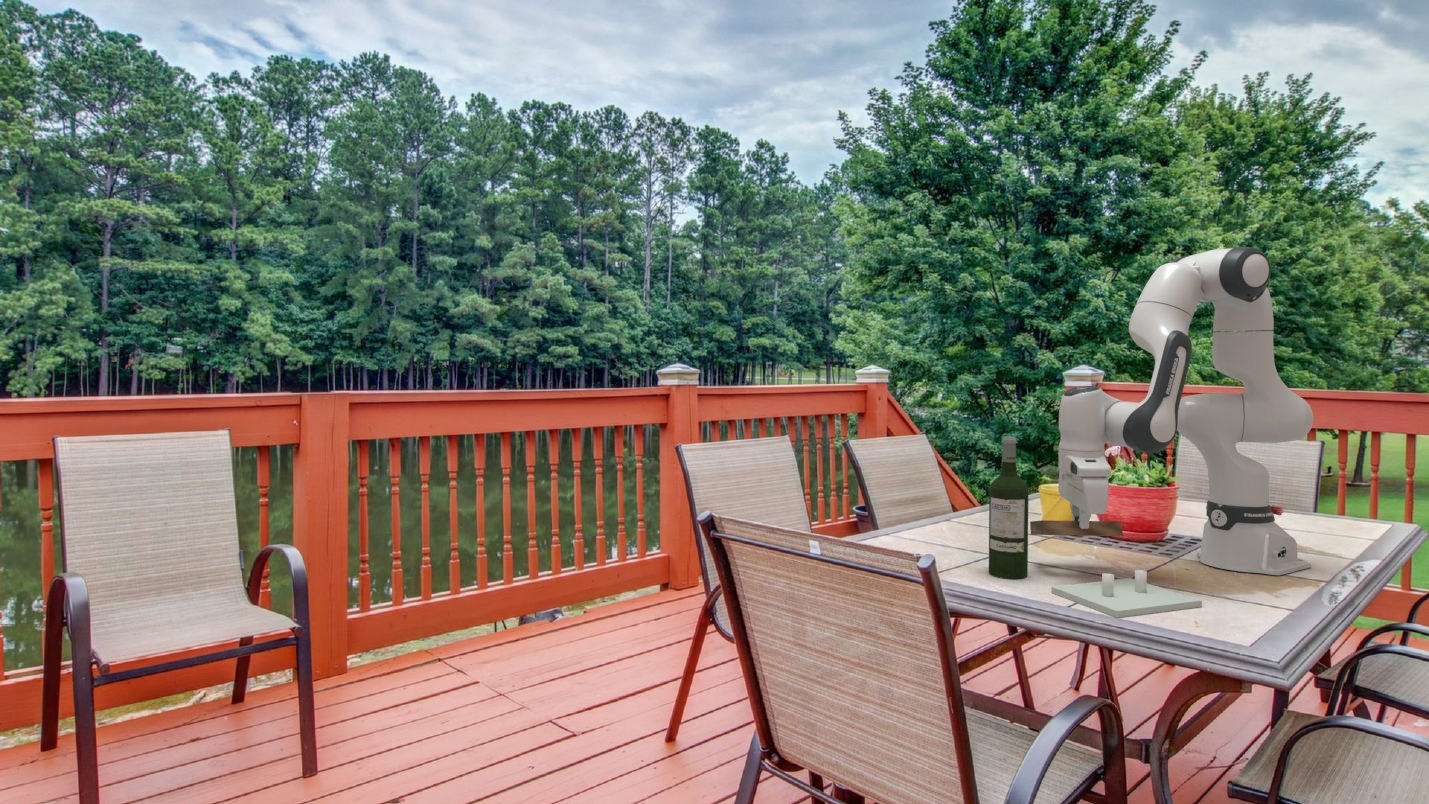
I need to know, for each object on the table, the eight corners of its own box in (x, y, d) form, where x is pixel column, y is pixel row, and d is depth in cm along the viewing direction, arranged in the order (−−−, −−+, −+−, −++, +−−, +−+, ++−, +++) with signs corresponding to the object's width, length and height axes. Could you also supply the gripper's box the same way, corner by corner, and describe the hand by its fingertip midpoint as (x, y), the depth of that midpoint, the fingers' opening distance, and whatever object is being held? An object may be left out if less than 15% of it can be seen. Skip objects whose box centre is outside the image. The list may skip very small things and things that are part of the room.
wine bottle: (990, 578, 158) (991, 438, 157) (987, 568, 166) (988, 435, 165) (1030, 580, 156) (1031, 438, 155) (1025, 570, 164) (1026, 435, 163)
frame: (1105, 536, 166) (1104, 522, 167) (1122, 535, 157) (1121, 521, 157) (1030, 534, 169) (1030, 521, 169) (1042, 534, 159) (1042, 520, 160)
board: (1130, 583, 153) (1130, 558, 153) (1201, 606, 138) (1202, 579, 138) (1051, 592, 147) (1051, 566, 147) (1117, 617, 132) (1117, 589, 132)
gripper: (1051, 455, 169) (1050, 515, 170) (1081, 469, 149) (1080, 537, 150) (1080, 455, 168) (1080, 515, 169) (1114, 469, 148) (1113, 537, 149)
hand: (1080, 525), depth 159 cm, fingers closed on frame, 2 cm apart
